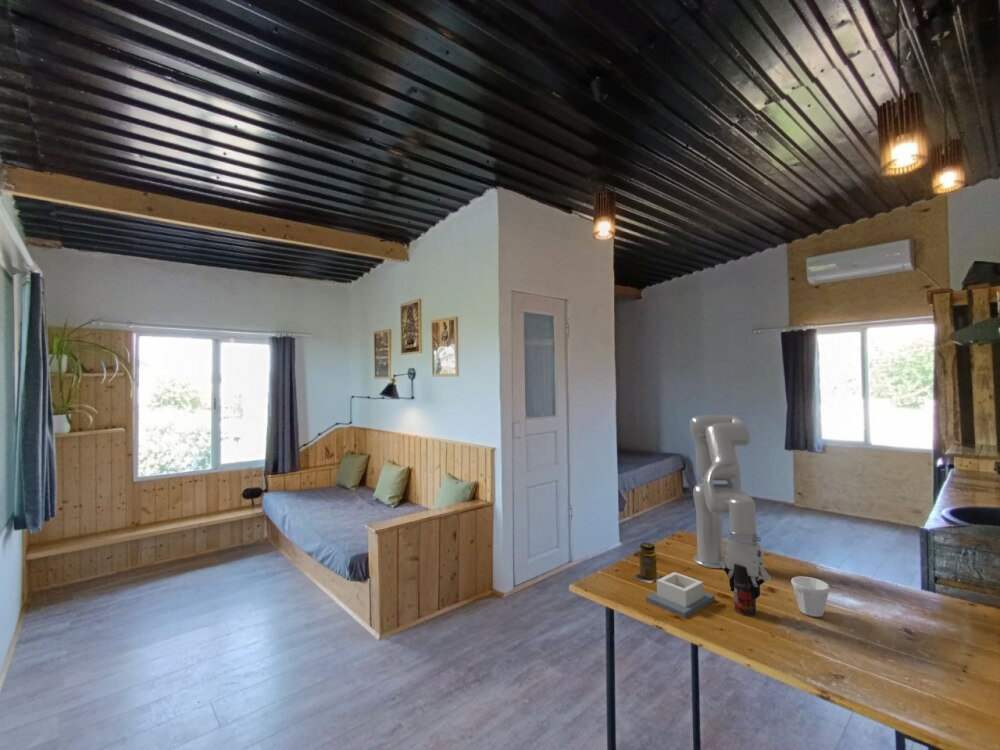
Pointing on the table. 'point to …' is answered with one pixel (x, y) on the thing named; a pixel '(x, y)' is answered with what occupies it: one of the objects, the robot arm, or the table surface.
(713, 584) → the table surface
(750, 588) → the deodorant
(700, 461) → the robot arm
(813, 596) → the cup
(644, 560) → the condiment
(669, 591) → the socket
